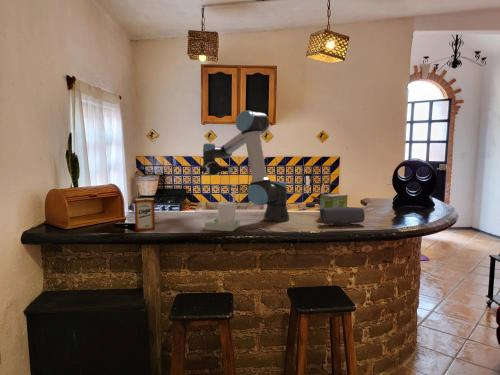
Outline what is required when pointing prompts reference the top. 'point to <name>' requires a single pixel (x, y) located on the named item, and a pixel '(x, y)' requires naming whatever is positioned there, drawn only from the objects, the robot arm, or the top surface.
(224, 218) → the candle holder
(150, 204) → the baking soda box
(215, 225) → the tray
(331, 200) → the tea box
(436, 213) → the top surface
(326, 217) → the bluetooth speaker
